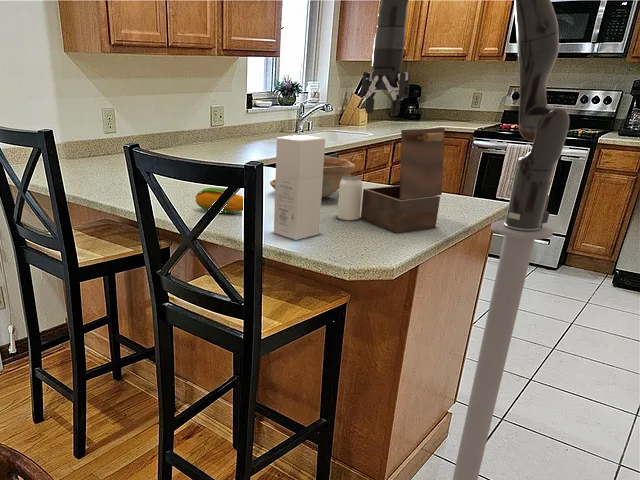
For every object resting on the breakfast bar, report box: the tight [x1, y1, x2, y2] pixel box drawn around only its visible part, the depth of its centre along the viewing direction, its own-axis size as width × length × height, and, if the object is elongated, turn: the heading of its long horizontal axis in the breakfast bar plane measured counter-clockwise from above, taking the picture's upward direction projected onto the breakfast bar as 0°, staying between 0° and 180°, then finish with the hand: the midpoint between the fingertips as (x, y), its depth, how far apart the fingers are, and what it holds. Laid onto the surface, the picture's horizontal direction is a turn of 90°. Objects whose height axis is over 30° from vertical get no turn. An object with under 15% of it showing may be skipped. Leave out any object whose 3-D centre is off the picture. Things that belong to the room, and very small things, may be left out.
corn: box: [195, 187, 244, 214], centre depth 161 cm, size 7×8×20 cm
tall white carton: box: [273, 134, 326, 241], centre depth 137 cm, size 9×9×25 cm
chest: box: [360, 184, 441, 234], centre depth 150 cm, size 17×14×9 cm
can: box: [337, 175, 363, 222], centre depth 154 cm, size 6×6×12 cm
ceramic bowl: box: [269, 155, 356, 199], centre depth 181 cm, size 30×27×15 cm
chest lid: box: [399, 127, 446, 199], centre depth 136 cm, size 18×14×5 cm
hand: (381, 114), depth 140 cm, fingers open, 8 cm apart
